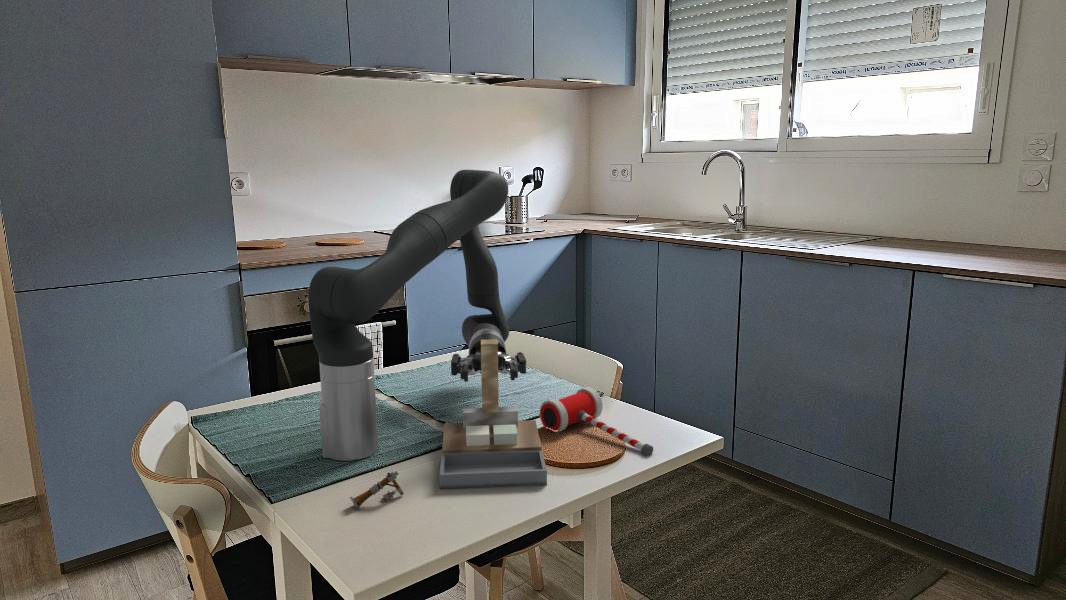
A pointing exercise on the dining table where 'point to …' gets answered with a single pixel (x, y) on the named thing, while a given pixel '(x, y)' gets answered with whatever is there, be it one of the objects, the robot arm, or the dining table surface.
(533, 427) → the board
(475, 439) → the tile
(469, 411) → the scraper
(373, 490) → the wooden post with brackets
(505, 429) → the tile
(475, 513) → the dining table surface
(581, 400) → the toy hammer
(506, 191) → the robot arm
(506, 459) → the tray
